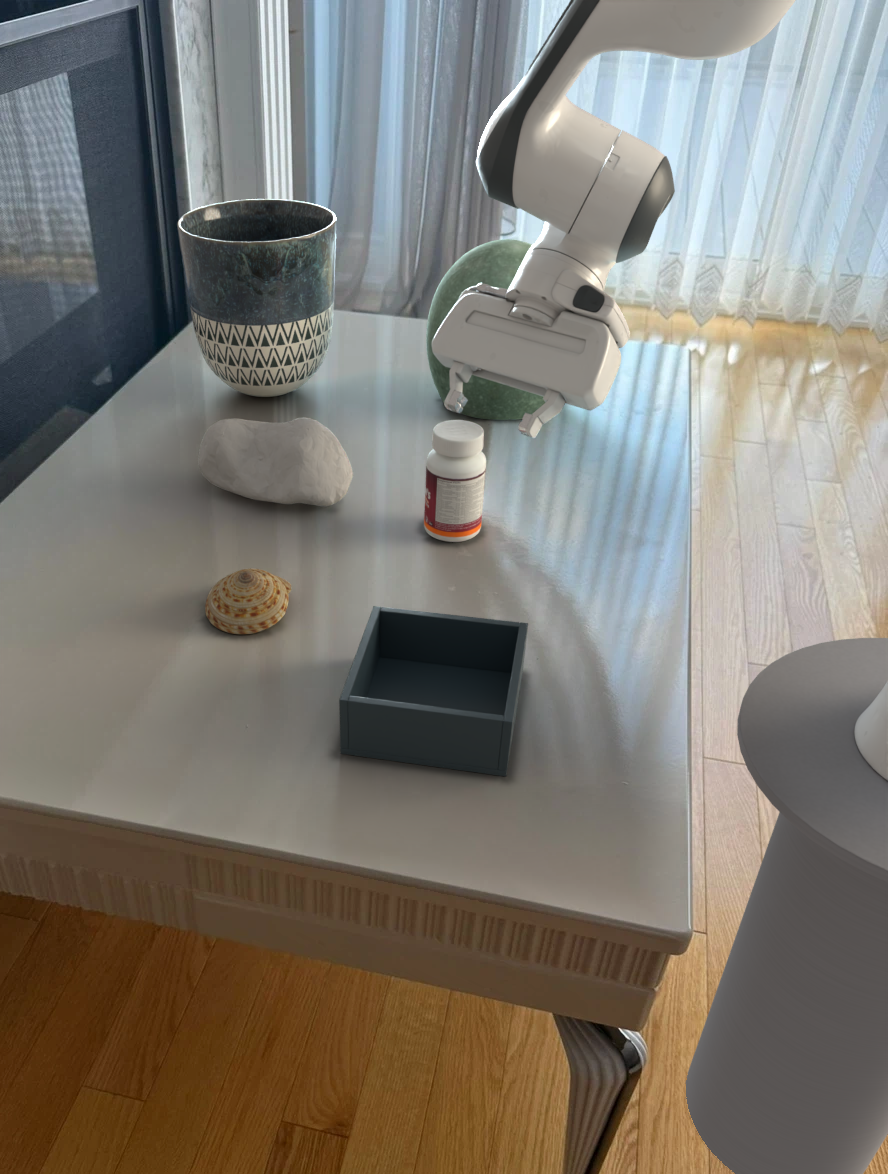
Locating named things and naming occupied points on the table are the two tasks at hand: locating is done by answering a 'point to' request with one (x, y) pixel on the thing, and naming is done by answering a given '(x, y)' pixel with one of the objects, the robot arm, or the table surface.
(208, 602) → the seashell
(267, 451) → the decorative stone
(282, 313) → the planter
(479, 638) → the bin
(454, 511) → the pill bottle
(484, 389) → the sculpture
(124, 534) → the table surface
